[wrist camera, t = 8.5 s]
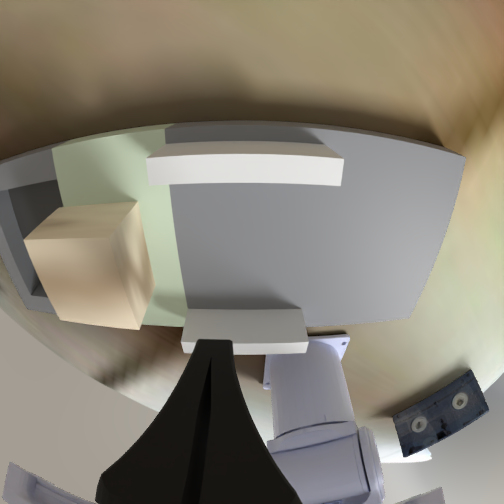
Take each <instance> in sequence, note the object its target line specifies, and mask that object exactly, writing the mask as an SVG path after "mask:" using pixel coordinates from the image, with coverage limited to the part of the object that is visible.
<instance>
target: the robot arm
mask: <svg viewBox="0 0 504 504" xmlns="http://www.w3.org/2000/svg"><path fill="white" fill-rule="evenodd" d="M308 340H309V343H308V347H307V351H306V353H294V354H266V358H265V368H264V379H263V388H264V389H271V399H272V414H273V430H274V440H269V441H267V447H266V446H265V444H264V442H263V440H262V438H261V436H260V434H259V432H258V430H257V428H256V426H255V424H254V422H253V420H252V417H251V415H250V413H249V410H248V408H247V405H246V403H245V400H244V397H243V394H242V391H241V388H240V385H239V381H238V378H237V374H236V370H235V364H234V353H233V341H231V340H230V339H198V340H197V342H196V345H195V347H194V350H193V352H192V355H191V357H190V359H189V361H188V363H187V366H186V368H185V370H184V372H183V374H182V375H181V377H180V379H179V381H178V383H177V385H176V387H175V388H174V390H173V392H172V393H171V395H170V397H169V398H168V400H167V402H166V403H165V405H164V406H163V408H162V409H161V411H160V412H159V414H158V415H157V416H156V418H155V419H154V421H153V422H152V423H151V424H150V426H149V427H148V428H147V429H146V431H145V432H144V433H143V435H142V436H141V437H140V438H139V439H138V440H137V441H136V442H135V443H134V444H133V445H132V447H130V449H129V450H128V451H127V452H126V453H125V454H124V455H123V456H122V457H121V458H120V459H119V460H117V461H116V462H115V463H114V464H113V465H111V466H110V467H109V468H108V469H107V470H106V471H104V472H103V473H102V474H101V477H100V480H99V483H98V486H97V492H96V498H95V501H96V502H97V503H98V504H383V500H384V499H385V492H384V486H383V484H384V479H383V473H382V468H381V463H380V458H379V454H378V449H377V445H376V441H375V437H374V434H373V431H372V430H371V429H367V427H365V426H364V427H361V428H359V429H358V427H357V425H356V422H355V418H354V413H353V409H352V405H351V401H350V396H349V392H348V388H347V384H346V380H345V376H344V373H343V369H342V365H341V359H342V357H343V354H344V352H345V350H346V348H347V345H348V343H349V340H350V336H349V335H348V334H342V335H328V336H313V337H308ZM2 498H3V500H5V501H6V502H7V503H9V504H95V503H93V502H90V501H88V500H85V499H83V498H80V497H78V496H75V495H73V494H71V493H69V492H66V491H64V490H62V489H60V488H58V487H56V486H55V485H54V484H52V483H51V482H49V481H47V480H45V479H43V478H41V477H39V476H37V475H35V474H33V473H30V472H28V471H26V470H25V469H23V468H21V467H20V466H18V465H16V464H14V463H12V462H10V463H9V466H8V471H7V475H6V480H5V485H4V491H3V496H2ZM396 504H445V500H444V495H443V491H442V487H439V488H436V489H434V490H431V491H429V492H427V493H424V494H420V495H417V496H414V497H411V498H409V499H406V500H404V501H401V502H398V503H396Z"/></svg>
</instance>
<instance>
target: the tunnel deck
mask: <svg viewBox="0 0 504 504" xmlns="http://www.w3.org/2000/svg"><path fill="white" fill-rule="evenodd" d="M465 160H466V157H464V156H462V155H460V154H458V153H456V152H454V151H452V150H450V149H447V148H445V147H442V146H438V145H435V144H431V143H427V142H423V141H419V140H415V139H410V138H406V137H401V136H396V135H391V134H386V133H380V132H375V131H369V130H362V129H356V128H349V127H341V126H333V125H323V124H313V123H301V122H285V121H256V120H229V121H200V122H184V123H172V124H162V125H153V126H144V127H137V128H130V129H123V130H117V131H111V132H105V133H100V134H95V135H90V136H85V137H80V138H76V139H72V140H68V141H63V142H59V143H56V144H52V145H48V146H45V147H41V148H38V149H34V150H31V151H28V152H25V153H22V154H19V155H16V156H13V157H10V158H7V159H4V160H2V161H0V255H1V257H2V260H3V262H4V264H5V267H6V269H7V271H8V273H9V275H10V277H11V279H12V281H13V283H14V285H15V287H16V289H17V291H18V293H19V295H20V297H21V299H22V301H23V302H24V304H25V306H26V308H27V309H29V310H35V311H40V312H46V313H52V314H57V313H56V311H55V309H54V307H53V305H52V304H51V302H50V300H49V298H48V296H47V294H46V292H45V290H44V288H43V286H42V283H41V281H40V279H39V277H38V275H37V272H36V270H35V268H34V266H33V263H32V261H31V258H30V256H29V253H28V251H27V248H26V246H25V243H24V239H25V238H26V237H27V236H28V235H29V234H30V233H31V232H32V231H33V230H34V229H35V228H36V227H37V226H38V225H40V224H41V223H42V222H43V221H44V220H45V219H46V218H47V217H48V216H50V215H51V214H52V213H53V212H54V211H55V210H57V209H58V208H59V207H69V206H80V205H91V204H104V203H118V202H134V201H138V203H139V209H140V214H141V220H142V225H143V230H144V236H145V240H146V245H147V250H148V255H149V259H150V264H151V268H152V272H153V276H154V280H155V284H156V286H155V288H154V291H153V294H152V296H151V299H150V302H149V304H148V307H147V310H146V313H145V315H144V318H143V321H142V324H145V325H159V326H175V327H184V329H183V334H182V339H181V344H182V347H183V351H184V353H192V352H193V350H194V347H195V345H196V342H197V340H198V339H230V340H231V341H233V353H234V355H262V354H294V353H306V351H307V347H308V343H309V340H308V335H307V330H306V327H318V326H335V325H349V324H361V323H372V322H381V321H391V320H399V319H407V318H410V316H411V314H412V312H413V310H414V308H415V306H416V304H417V302H418V300H419V298H420V295H421V293H422V291H423V289H424V287H425V285H426V282H427V280H428V278H429V275H430V273H431V271H432V268H433V266H434V263H435V261H436V258H437V256H438V253H439V250H440V248H441V245H442V242H443V240H444V237H445V234H446V231H447V228H448V225H449V222H450V219H451V215H452V212H453V209H454V205H455V202H456V198H457V195H458V191H459V187H460V183H461V179H462V174H463V170H464V165H465Z"/></svg>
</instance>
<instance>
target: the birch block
mask: <svg viewBox="0 0 504 504" xmlns="http://www.w3.org/2000/svg"><path fill="white" fill-rule="evenodd" d="M24 243H25V246H26V248H27V251H28V253H29V256H30V258H31V261H32V263H33V266H34V268H35V270H36V272H37V275H38V277H39V279H40V281H41V283H42V286H43V288H44V290H45V292H46V294H47V296H48V298H49V300H50V302H51V304H52V305H53V307H54V309H55V311H56V313H57V315H58V317H59V318H60V320H64V321H70V322H77V323H83V324H91V325H98V326H106V327H115V328H124V329H135V330H140V327H141V324H142V321H143V318H144V315H145V313H146V310H147V307H148V304H149V302H150V299H151V296H152V294H153V291H154V288H155V286H156V284H155V280H154V276H153V272H152V268H151V264H150V259H149V255H148V250H147V245H146V240H145V236H144V230H143V225H142V220H141V214H140V209H139V203H138V201H134V202H118V203H104V204H91V205H80V206H69V207H59V208H58V209H57V210H55V211H54V212H53V213H52V214H51V215H50V216H48V217H47V218H46V219H45V220H44V221H43V222H42V223H41V224H40V225H38V226H37V227H36V228H35V229H34V230H33V231H32V232H31V233H30V234H29V235H28V236H27V237H26V238H25V239H24Z"/></svg>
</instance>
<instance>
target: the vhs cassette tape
mask: <svg viewBox="0 0 504 504" xmlns="http://www.w3.org/2000/svg"><path fill="white" fill-rule="evenodd" d="M488 411H489V408H488V405H487V403H486V402H485V398H484V396H483V393H482V391H481V389H480V386H479V384H478V381H477V380H476V378H475V376H474V373H473V372H472V370H469V371H468V372H467V373H465V374H464V375H462V376H461V377H460V378H458V379H457V380H455V381H454V382H452V383H451V384H449V385H447V386H446V387H444V388H443V389H441V390H440V391H438V392H436V393H435V394H433V395H431V396H429V397H428V398H426V399H424V400H423V401H421V402H419V403H417V404H415V405H413V406H412V407H410V408H408V409H406V410H404V411H402V412H400V413H398V414H396V415H394V416H393V422H394V423H395V428H396V431H397V434H398V438H399V441H400V446H401V449H402V453H403V457H408V456H410V455H412V454H415V453H417V452H419V451H421V450H424V449H425V448H428V447H430V446H432V445H433V444H435V443H437V442H439V441H441V440H443V439H445V438H447V437H449V436H451V435H452V434H454V433H456V432H458V431H459V430H461V429H463V428H464V427H466V426H467V425H469V424H470V423H472V422H474V421H475V420H477V419H478V418H480V417H481V416H483V415H484V414H486V413H487V412H488Z"/></svg>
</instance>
